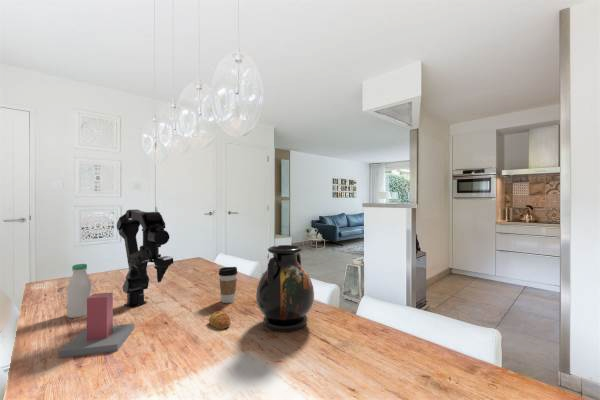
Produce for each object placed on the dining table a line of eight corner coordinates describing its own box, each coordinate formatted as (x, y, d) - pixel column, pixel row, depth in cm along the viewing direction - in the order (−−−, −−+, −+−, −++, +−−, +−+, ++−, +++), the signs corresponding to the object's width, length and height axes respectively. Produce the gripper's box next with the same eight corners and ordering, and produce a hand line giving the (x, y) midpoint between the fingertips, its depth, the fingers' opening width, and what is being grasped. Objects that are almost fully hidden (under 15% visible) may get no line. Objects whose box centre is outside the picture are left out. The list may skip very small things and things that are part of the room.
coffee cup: (232, 304, 121) (232, 270, 121) (215, 303, 122) (215, 269, 123) (240, 298, 129) (240, 266, 129) (223, 297, 131) (223, 265, 131)
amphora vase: (293, 343, 87) (292, 254, 88) (243, 326, 99) (243, 248, 99) (324, 319, 105) (324, 245, 106) (279, 307, 117) (279, 241, 117)
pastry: (235, 326, 100) (235, 316, 100) (217, 332, 95) (217, 321, 95) (223, 318, 107) (223, 308, 107) (206, 323, 102) (206, 313, 102)
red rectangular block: (93, 333, 90) (93, 293, 90) (112, 331, 91) (112, 292, 92) (86, 340, 86) (86, 298, 86) (106, 338, 87) (106, 296, 87)
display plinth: (84, 334, 94) (84, 328, 94) (134, 329, 98) (134, 323, 98) (58, 358, 79) (58, 351, 79) (117, 350, 83) (117, 344, 83)
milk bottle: (95, 312, 113) (95, 263, 113) (73, 319, 106) (73, 267, 106) (84, 309, 116) (85, 262, 116) (62, 316, 109) (63, 265, 109)
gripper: (115, 244, 108) (115, 284, 108) (150, 246, 101) (150, 289, 101) (141, 240, 118) (140, 277, 118) (174, 242, 112) (174, 281, 111)
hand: (150, 281), depth 112 cm, fingers open, 9 cm apart
